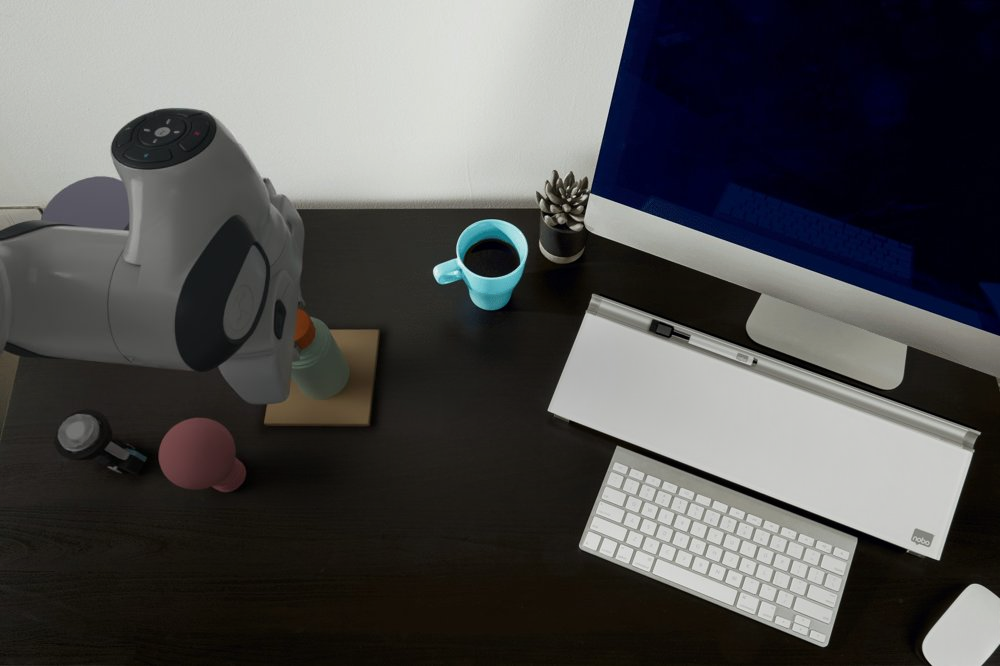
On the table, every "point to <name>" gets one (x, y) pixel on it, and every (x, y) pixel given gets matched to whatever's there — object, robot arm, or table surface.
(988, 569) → the table surface
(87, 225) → the container
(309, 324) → the cap
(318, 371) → the bottle
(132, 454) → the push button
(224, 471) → the light bulb
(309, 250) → the table surface
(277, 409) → the coaster
